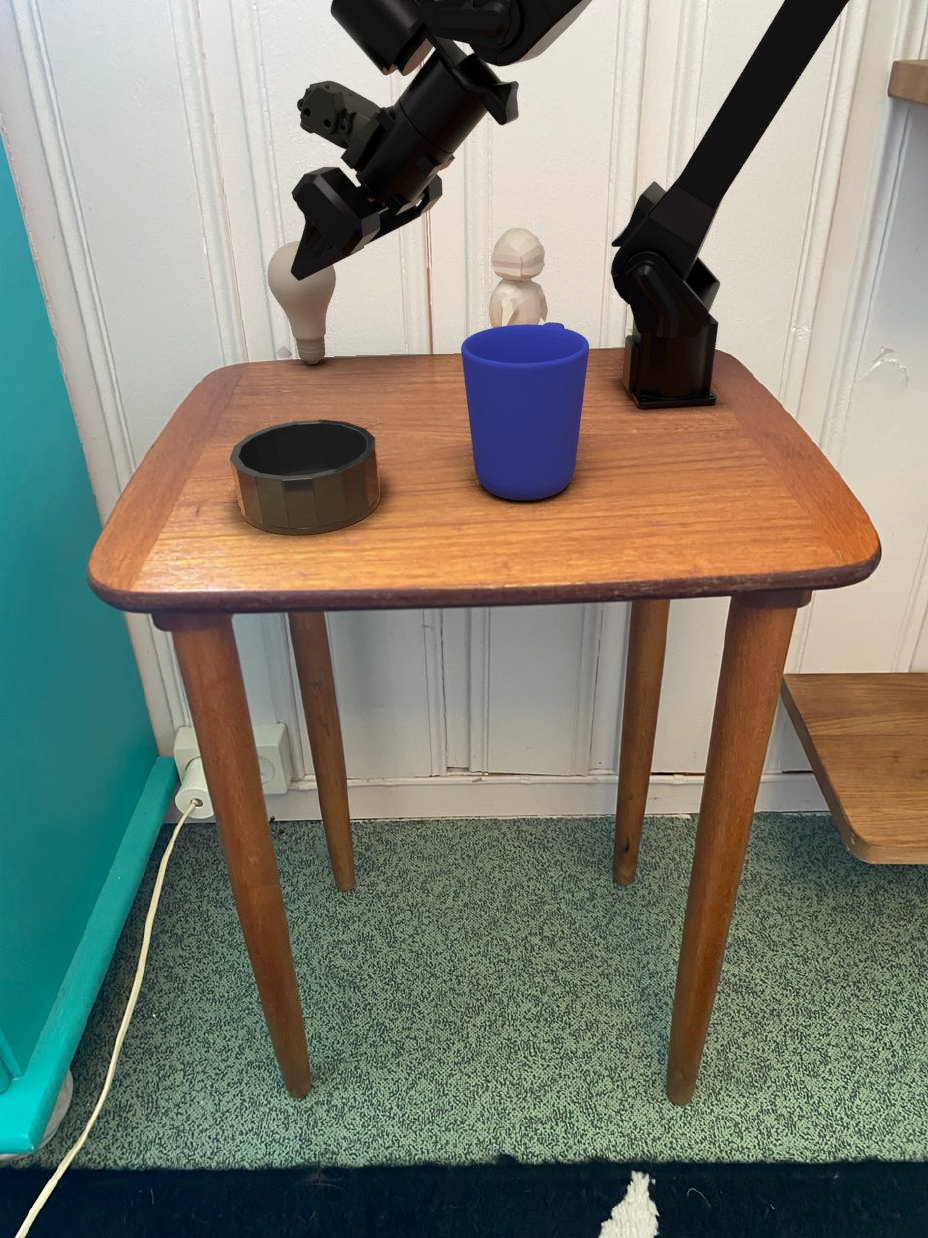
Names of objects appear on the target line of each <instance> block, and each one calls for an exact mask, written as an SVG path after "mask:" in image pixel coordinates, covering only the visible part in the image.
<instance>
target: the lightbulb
mask: <svg viewBox="0 0 928 1238" xmlns="http://www.w3.org/2000/svg"><path fill="white" fill-rule="evenodd" d="M299 243H300V240H295V241H290V242H287V243H285V244H283V245H282V246H280V247H279V248H278V249H277V250H275V251H274V253H273V254H272V256H271V258H270V260H269V262H268V266H267V275H266V277H267V283H268V287H269V290H270V292H271V293H272V295H273V297H274V298H275V300H276V302H277V303H278V304H279V306H280V307H281V309H282V310H283V311H284V314H285V316H286V318H287V320H288V322H289V325H290V329H291V335H292V337H293V338H294V339H295V342H296V347H297V348H296V350H297V354H298V357H299V358H300V360H302V361H305V362H307V364H308V365H315V364H318V363H319V362H320V360H322V359H324V358H325V356H326V343H325V336H326V333H327V325H326V324H327V323H326V322H327V320H326V319H327V313H328V309H329V305H330V303H331V300H332V298H333V295H334V292H335V288H336V283H337V282H336V281H337V275H336V270H335V266H334V264H333V265H331V266H329V267H327V268H325V269H323V270H321V271H319V272H317V273H315V274H313V275H311V276H309V277H307V278H305V279H303V280H301V281H298V280H297V279H296V278H295V277H294V276H293V275H292V274H291V267H292V264H293V261H294V258H295V255H296V252H297V249H298V246H299Z"/></svg>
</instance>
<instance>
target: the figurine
mask: <svg viewBox="0 0 928 1238" xmlns="http://www.w3.org/2000/svg"><path fill="white" fill-rule="evenodd" d="M545 253H546V251H545V247H544V245H543V244H542V242H541V241H540V239H539V237H538V236H537V235H535V234H534V233H533V232H531V231H530V230H528V229H527V228H522V227H511V228H510V229H508V230H506V231H505V232H504V233H502V234H501V236H500V237H499V238H498V240H497V241H496V243H495V244H494V246H493V251H492V253H491V258H490V261H491V265H492V269H493V272H494V274H495V275H496V277H499V278H502V279H501V280H500V281H499V282H498V283H497V285H496V286H495V287H494V289H492V292H491V295H490V299H489V305H488V314H489V315H488V316H489V320H490V324H491V327H492V328H495V327H501V326H509V325H526V324H530V325H540V321H541V319H542V321H543V322H544V323H547V317H548V312H549V309H548V303H547V298H546V295H545V293H544V290H543V287H542V285H541V284H540V283H538V282H536V281H533V279H534V278H535V277H537V276H540V274H541V273H542V272H543V270H544V267H545V265H546V263H545Z"/></svg>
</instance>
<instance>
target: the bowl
mask: <svg viewBox="0 0 928 1238" xmlns="http://www.w3.org/2000/svg"><path fill="white" fill-rule="evenodd" d="M229 463H230V467H231V468H230V469H231V473H232V478H233V483H234V488H235V493H236V498H237V503H238V506H239V508H240V512H241V515H242V517H243V518H244V520H245V521H246V522H247V523H248V524H250V525H251V526H253V527H255V528H257V529H259V530H262V531H264V532H267V533H273V534H279V535H285V536H286V535H289V536H290V535H291V536H307V535H315V534H321V533H322V534H323V533H328V532H332V531H337V530H339V529H343V528H345V527H346V528H347V527H348V526H351V525H353V524H355V523H358V522H360V521H361V520H364V519H365V518H366V517H368V516H369V515H371V513H372V512H373V511H375V510H376V509H377V507H378V505H379V504H380V501H381V480H380V470H379V468H380V467H379V459H378V449H377V440H376V437H375V436H374V435H373V434H372V433H371V432H370V431H369V430H368V429H367V428H365V427H362V426H359V425H357V424H354V423H351V422H348V421H342V420H341V421H340V420H332V419H309V420H295V421H289V422H285V423H279V424H276V425H270V426H267V427H265V428H263V429H260V430H258V431H256V432H252V433H250V434H248V435H246V436H245V437H244V438H243V439H241V440H240V441H238V443H236V444H235V445H234V446H233V448H232V450H231V453H230V456H229Z"/></svg>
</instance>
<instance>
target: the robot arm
mask: <svg viewBox="0 0 928 1238" xmlns="http://www.w3.org/2000/svg"><path fill="white" fill-rule="evenodd" d="M592 2H593V0H331V5H330V15H331V17H332V18H333V19H334V20H335V21H336V22H337V23H338V24H339V26H340V27H341V28H342V30H344V31H345V33H346V34H347V35H348V36H349V37H350V39H351V40H352V41H353V42H354V43H355V44H356V45H357V46H358V47H359V49H360V50H361V51H362V52H363V54H364V55H366V57H367V58H368V59H369V60H370V61H371V63H372V64H373V65H374V66H375V67H376V68H377V69H378V70H379V72H380V73H381V74H382V75H383V76H389V75H391V74H393V73H394V72H396V71H398V72H399V74H400V75H401V76H402V77H407V76H409V75H410V74H411V73H412V72H414V71H415V70H416V69H417V68H418V67H419V66H420V65H421V64H422V63H423V62H424V60H425V59H426V58H427V57H428V55H429V54H430V53H431V52H432V49H433V48H434V50H433V52H432V53H431V54H430V56H429V57H428V58H427V59H426V61H425V62H424V63H423V65H422V66H421V68H420V69H419V70H418V72H417V73H416V75H415V76H414V77H413V78H412V80H411V81H410V83H408V85H407V87H406V88H404V91H403V92H402V93H401V95H400V96H399V97H398V99H397V100H396V101H395V103H394V104H393V105H390V106H387V107H385V106H382V107H380V106H379V105H378V104H377V103H375V102H374V101H372V100H370V99H369V98H367V97H365V96H363V95H361V94H360V93H358V92H356V91H354V90H352V89H350V88H349V87H347V86H345V85H344V84H341V83H339V82H337V81H334V80H324V81H319V82H314V83H310V84H309V86H308V87H307V88H305V92H304V95H303V96H302V98H299V99H298V100H297V101H296V107H297V110H298V111H299V112H300V114H299V119H300V123H299V127H300V128H301V129H302V130H303V131H305V132H307V133H308V134H310V135H311V134H315V135H317V136H319V137H321V138H323V139H324V140H326V141H328V142H330V143H331V144H333V145H335V146H337V147H338V148H341V149H343V150H344V152H343V153H342V155H341V156H340V157H339V158H340V159H341V160H342V161H343V162H344V163H345V165H346V166H347V167H348V168H349V169H350V170H354V171H355V172H356V173H355V175H354V176H355V178H356V180H357V181H358V183H359V185H358V186H357V185H356V184H355V183H354V182H353V181H352V180H351V179H350V177H348V175H347V174H346V173H345V172H344V170H342V169H341V168H340V166H322V167H320V168H317V169H314V170H311V171H308V172H306V173H304V174H303V175H302V177H300V179H299V181H298V182H297V183H296V185H295V186H294V188H293V189H292V190H291V192H290V193H291V196H292V200H293V201H294V203H296V207H297V208H298V209H299V210H300V211H301V213H302V214H303V218H304V227H303V231H302V233H301V236H300V237H301V238H300V239H299V241H300V243H299V246H298V249H297V252H296V255H295V258H294V261H293V264H292V267H291V274H292V275H293V276H294V277H295V278H296V279H297V280H298V281H301V280H303V279H305V278H307V277H309V276H311V275H313V274H315V273H317V272H319V271H321V270H323V269H325V268H327V267H329V266H331V265H333V266H334V265H335V264H337V263H339V262H340V261H343V260H346V259H347V258H349V257H351V256H353V255H354V254H357V253H358V252H360V251H362V250H364V249H365V246H367V245H369V244H371V243H373V242H374V241H376V240H379V239H381V238H382V237H385V236H386V235H388V234H391V233H392V232H394V231H396V230H398V229H400V228H402V227H404V226H407V224H409V223H412V222H413V221H415V220H417V219H419V218H420V217H422V216H423V215H424V214H425V213H427V212H429V211H430V210H431V209H433V207H434V205H436V203H438V201H439V200H440V199H441V198H442V196H443V179H442V178H441V177H440V175H439V174H438V173H439V172H441V171H443V170H445V169H447V168H449V166H450V165H451V164H452V163H453V162H454V160H455V159H456V157H455V155H454V153H455V152H456V151H457V150H458V149H459V148H460V147H461V145H462V144H463V143H464V141H465V140H466V139H467V138H468V137H469V135H470V134H471V133H472V132H473V130H474V129H475V128H476V127H477V125H478V124H479V123H480V122H481V121H482V120H483V118H484V117H485V116H486V114H487V113H488V114H490V116H491V117H492V118H493V119H494V120H495V122H496V123H497V124H498V125H500V126H505V125H507V124H510V123H511V122H514V121H517V120H518V118H519V115H520V113H519V102H518V90H519V87H520V85H519V84H520V83H519V82H518V81H516V80H513V81H504V80H501V78H500V77H499V76H498V75H497V73H496V72H494V70H493V69H492V68H491V67H490V66H489V65H492V66H495V67H498V68H499V67H500V68H501V67H508V66H512V65H516V64H520V63H524V62H527V61H531V60H533V59H536V58H537V57H539V56H541V55H542V54H543V53H545V51H547V50H548V49H549V48H550V46H552V44H554V42H556V41H557V40H558V39H559V37H561V35H562V34H564V32H565V31H567V30H568V29H569V28H570V27H571V26H572V25H573V24H574V22H576V20H577V19H578V18H579V17H580V16H581V14H582V13H583V12H584V11H585V10H586V9H587V8H588V6H590V4H591V3H592ZM849 2H850V0H784V1H783V2H782V4H781V5H780V8H779V9H778V11H777V12H776V14H775V15H774V17H773V19H772V21H771V22H770V24H769V26H768V28H767V29H766V31H765V32H764V34H763V35H762V37H761V39H760V40H759V42H758V44H757V46H756V47H755V49H754V51H753V52H752V54H751V56H750V58H749V59H748V61H747V63H746V64H745V66H744V68H743V69H742V71H741V72H740V74H739V76H738V78H737V79H736V81H735V83H734V84H733V86H732V87H731V89H730V91H729V93H728V94H727V96H726V98H725V99H724V101H723V103H722V104H721V106H720V108H719V110H718V111H717V113H716V114H715V116H714V118H713V119H712V121H711V123H710V125H709V127H708V128H707V129H706V131H705V133H704V134H703V136H702V137H701V139H700V142H698V145H697V147H696V148H695V150H694V151H693V153H692V155H691V157H690V158H689V160H688V161H687V163H686V165H685V167H684V168H683V169H682V172H681V173H680V175H679V176H678V178H677V179H675V181H674V182H673V183H672V184H671V186H670V187H669V188H668V189H667V191H666V190H665V189H664V188H663V187H662V186H661V185H660V184H659V183H658V182H657V181H656V180H655V181H654V180H653V181H652V182H651V183H650V184H649V186H648V187H646V189H644V191H642V193H641V194H640V195H639V197H638V199H637V201H636V204H635V205H634V208H633V211H632V214H631V216H630V219H629V222H628V223H627V224H626V226H625V227H624V228H623V229H622V230H621V231H620V233H619V234H618V235H617V236H616V237H615V238H614V239H613V241H612V242H610V243H611V247H613V248H618V249H617V251H616V252H615V254H614V257H613V260H612V262H611V266H610V275H611V278H612V279H611V280H612V283H613V288H614V289H615V291H616V292H617V295H618V296H619V297H620V298H621V299H622V300H623V301H624V302H625V303H626V304H627V305H629V308H630V311H631V314H632V328H631V329H632V330H631V334H627V335H626V336H625V338H624V351H623V367H622V384H623V385H624V388H625V389H626V391H627V392H628V394H629V395H631V397H632V399H633V401H634V403H635V404H636V406H637V407H638V408H643V409H644V408H662V407H678V406H694V405H710V404H712V405H713V404H716V403H717V395H716V394H715V392H714V391H713V389H711V388H712V380H713V373H714V365H715V355H716V346H717V341H718V340H717V339H718V332H719V331H718V329H719V321H718V320H717V319H715V317H714V316H713V315H712V314H711V313H710V311H711V310H712V306H713V304H714V302H715V299H716V298H717V294H718V292H719V290H720V288H721V282H720V280H719V279H718V277H717V276H716V275H715V274H714V273H713V272H712V271H711V269H710V268H709V267H708V266H707V265H706V264H705V263H704V261H703V260H702V259H701V258H700V257H699V256H700V253H701V251H702V249H703V247H704V244H705V242H706V239H707V237H708V235H709V232H710V230H711V228H712V225H713V223H714V221H715V219H716V216H717V214H718V211H719V209H720V207H721V204H722V202H723V199H724V198H725V196H726V194H727V192H728V191H729V189H730V187H731V186H732V184H733V183H734V181H735V180H736V178H737V176H738V175H739V173H740V172H741V171H742V169H743V167H744V165H745V164H746V163H747V161H748V159H749V158H750V156H751V154H752V153H753V151H754V150H755V149H756V147H757V145H758V144H759V142H760V141H761V139H762V137H763V136H764V134H765V132H766V131H767V130H768V128H769V126H770V125H771V123H772V121H773V120H774V119H775V117H776V116H777V114H778V112H779V111H780V109H781V108H782V106H783V105H784V103H785V101H786V100H787V98H788V97H789V95H790V93H791V92H792V91H793V89H794V87H795V86H796V84H797V83H798V81H799V79H800V78H801V76H802V75H803V73H804V71H805V70H806V69H807V67H808V65H809V64H810V63H811V61H812V59H813V57H815V54H816V53H817V51H818V49H819V48H820V46H821V45H822V43H823V42H824V40H825V39H826V37H827V36H828V35H829V32H830V30H831V29H832V27H834V25H835V23H836V21H837V20H838V18H839V17H840V15H841V14H842V12H843V10H844V9H845V7H846V6H847V4H848V3H849ZM456 42H458V43H463V44H466V45H467V44H468V46H469V47H470V49H471V51H472V53H470V54H467V53H466V52H464V50H463V49H462V48H460V46H459V45H458V44H457V43H456Z"/></svg>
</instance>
